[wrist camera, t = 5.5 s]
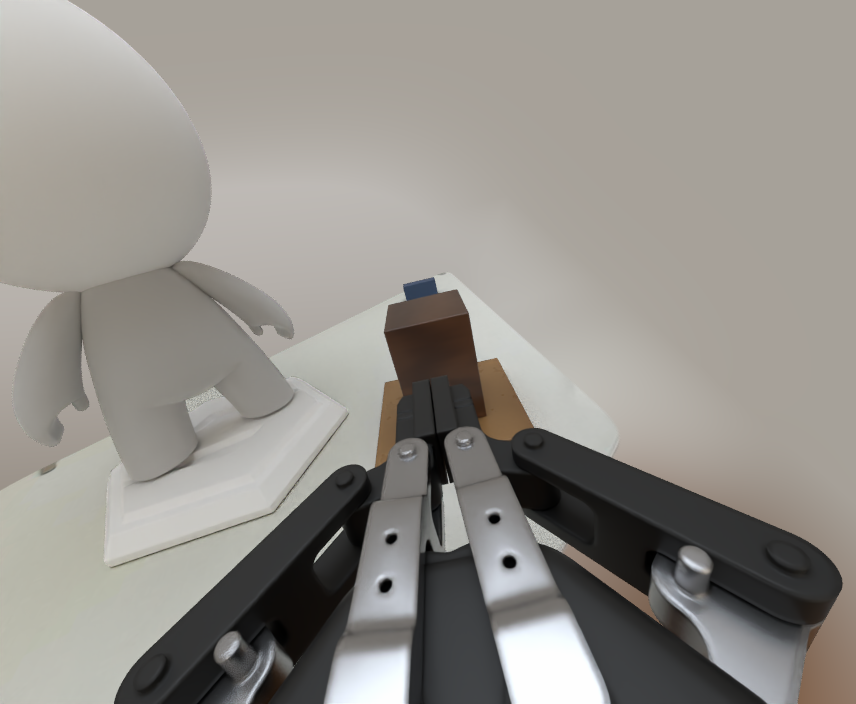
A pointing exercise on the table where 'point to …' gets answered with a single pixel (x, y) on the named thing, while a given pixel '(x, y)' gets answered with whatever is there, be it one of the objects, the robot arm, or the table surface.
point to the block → (444, 366)
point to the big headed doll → (137, 290)
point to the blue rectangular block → (420, 289)
